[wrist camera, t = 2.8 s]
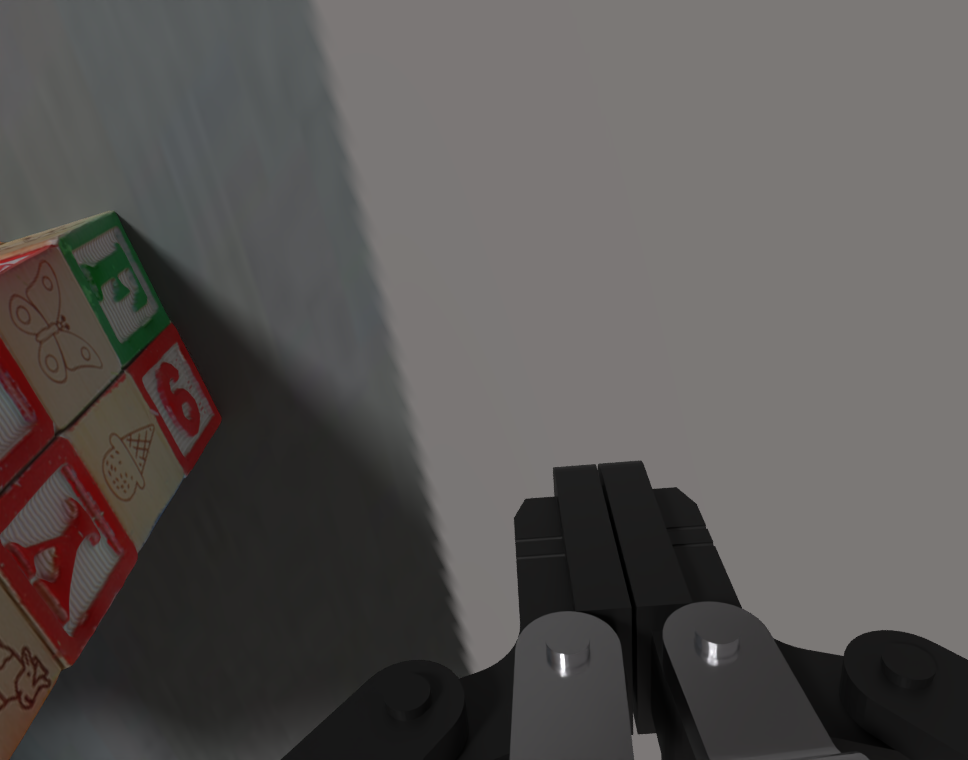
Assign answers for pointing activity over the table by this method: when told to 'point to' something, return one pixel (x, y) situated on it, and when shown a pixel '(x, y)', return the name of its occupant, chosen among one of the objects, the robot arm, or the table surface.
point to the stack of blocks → (81, 444)
